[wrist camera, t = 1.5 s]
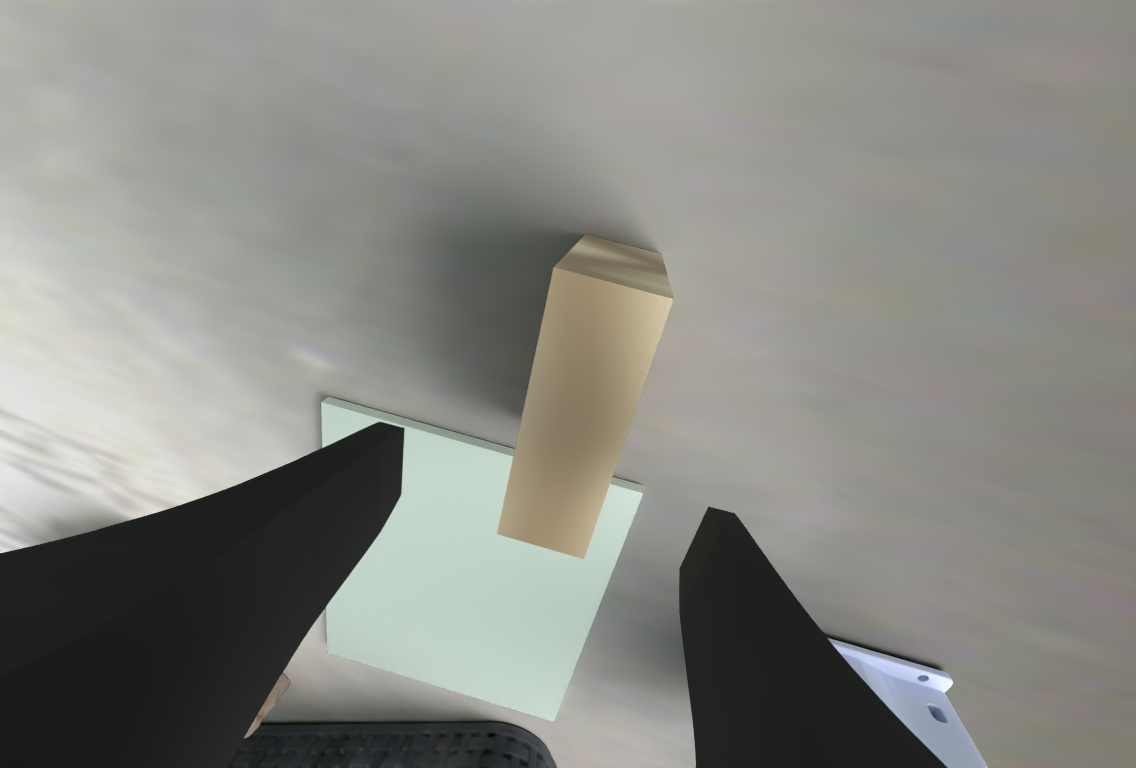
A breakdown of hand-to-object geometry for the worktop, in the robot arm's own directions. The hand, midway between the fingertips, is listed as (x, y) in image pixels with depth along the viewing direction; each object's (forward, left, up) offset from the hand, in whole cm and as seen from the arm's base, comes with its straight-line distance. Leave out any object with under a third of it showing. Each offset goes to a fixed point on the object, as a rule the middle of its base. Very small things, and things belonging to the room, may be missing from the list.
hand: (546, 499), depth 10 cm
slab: (0, 0, -10) cm, 10 cm away
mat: (+4, +16, -10) cm, 19 cm away
